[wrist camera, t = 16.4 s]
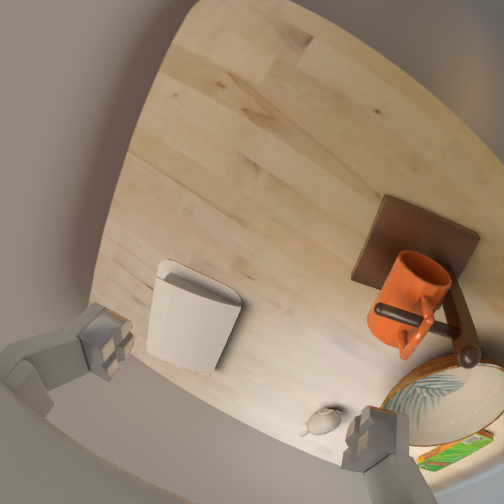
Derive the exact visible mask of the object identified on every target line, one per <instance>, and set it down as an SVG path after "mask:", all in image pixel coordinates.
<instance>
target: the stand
mask: <svg viewBox="0 0 504 504" xmlns="http://www.w3.org/2000/svg"><path fill="white" fill-rule="evenodd" d="M479 240H480V238H479V236H478V235H477V233H475V232H473V231H470V230H468V229H466V228H464V227H462V226H460V225H457V224H455V223H453V222H451V221H448V220H446V219H444V218H441V217H439V216H437V215H434V214H432V213H430V212H427V211H425V210H422V209H420V208H418V207H415V206H413V205H410V204H408V203H405V202H403V201H400V200H397V199H395V198H392V197H390V196H387V195H384V197H383V200H382V202H381V205H380V208H379V210H378V213H377V215H376V218H375V220H374V223H373V225H372V227H371V230H370V232H369V235H368V237H367V239H366V242H365V244H364V246H363V249H362V251H361V253H360V256H359V258H358V260H357V262H356V265H355V267H354V269H353V271H352V274H351V280H352V281H355V282H358V283H361V284H364V285H367V286H370V287H373V288H376V289H379V290H381V289H382V287H383V285H384V283H385V281H386V279H387V277H388V275H389V273H390V271H391V269H392V267H393V265H394V263H395V261H396V259H397V257H398V255H399V253H400V252H401V251H405V250H410V251H416V252H419V253H421V254H424V255H426V256H428V257H429V258H431V259H433V260H435V261H436V262H437V263H439V264H440V265H441V266H442V267H443V268H444V269H445V270H446V271H447V272H448V273H449V275H450V277H451V279H452V284H451V287H450V289H449V291H448V292H447V294H446V296H445V297H444V299H443V300H442V302H441V304H440V305H439V307H438V308H437V310H439V308H440V307H441V305H443V309H444V312H445V316H446V320H447V323H448V324H445V323H442V322H439V321H436V320H434V323H433V325H432V326H431V328H430V329H429V331H428V332H432V333H435V334H438V335H441V336H444V337H448V338H451V339H452V343H453V348H454V352H455V357H456V359H458V362H459V364H460V365H461V367H463V368H465V369H472V368H474V367H475V366H476V365H477V364H478V363H479V361H480V359H481V351H480V350H481V345H480V342H479V339H478V336H477V333H476V330H475V327H474V324H473V321H472V318H471V315H470V312H469V309H468V307H467V304H466V301H465V299H464V296H463V293H462V291H461V288H460V286H459V283H458V281H457V279H458V278H459V276H460V274H461V273H462V271H463V269H464V267H465V266H466V264H467V262H468V260H469V258H470V257H471V255H472V253H473V251H474V249H475V247H476V245H477V244H478V242H479ZM374 313H375V314H376V315H378V316H381V317H384V318H388V319H391V320H394V321H397V322H400V323H403V324H406V325H409V326H413V327H416V328H418V327H419V326H420V324H421V323H422V321H423V319H424V318H423V316H421V315H418V314H415V313H412V312H409V311H406V310H403V309H400V308H397V307H394V306H391V305H388V304H385V303H381V302H379V303H377V304H376V305H375V306H374Z"/></svg>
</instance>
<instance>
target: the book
mask: <svg viewBox="0 0 504 504" xmlns="http://www.w3.org/2000/svg"><path fill="white" fill-rule="evenodd" d="M241 308H242V300H241V298H240V297H239V295H238V294H237V292H235V291H234V290H232V289H231V288H229V287H228V286H226V285H223V284H221V283H219V282H217V281H215V280H213V279H211V278H209V277H207V276H205V275H203V274H200V273H198V272H196V271H194V270H192V269H190V268H188V267H186V266H184V265H182V264H180V263H178V262H175V261H172V260H164V261H161V262H160V264H159V265H158V269H157V275H156V279H155V285H154V292H153V298H152V305H151V312H150V320H149V327H148V335H147V343H146V352H147V353H149V354H150V355H152V356H154V357H156V358H158V359H160V360H163V361H165V362H167V363H170V364H172V365H175V366H177V367H180V368H182V369H186V370H189V371H192V372H196V373H200V374H205V375H212V373H213V371H214V369H215V367H216V364H217V362H218V360H219V358H220V355H221V353H222V351H223V349H224V346H225V344H226V342H227V340H228V337H229V335H230V333H231V331H232V328H233V326H234V324H235V322H236V319H237V317H238V315H239V312H240V310H241Z"/></svg>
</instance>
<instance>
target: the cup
mask: <svg viewBox="0 0 504 504" xmlns="http://www.w3.org/2000/svg"><path fill="white" fill-rule="evenodd" d="M451 284H452V279H451V277H450V275H449V273H448V272H447V271H446V270H445V269H444V268H443V267H442V266H441V265H440V264H439V263H437V262H436V261H435V260H433V259H431V258H429V257H428V256H426V255H424V254H421V253H419V252H416V251H410V250H405V251H401V252H400V253H399V255H398V257H397V259H396V261H395V263H394V265H393V267H392V269H391V271H390V273H389V275H388V277H387V279H386V281H385V283H384V285H383V287H382V289H381V291H380V293H379V294H378V296H377V298H376V300H375V302H374V304H373V306H372V308H371V309H370V311H369V314H368V316H367V323H368V326H369V328H370V330H371V331H372V333H373V334H374V335H375V336H376V337H377V338H378V339H379V340H381V341H382V342H383V343H385V344H387V345H389V346H392V347H395V348H399V350H400V358H401V359H402V360H407V359H408V358H409V357H410V356H411V354H412V353H413V352H414V350H415V349H416V347H417V346H418V345H419V343H420V342H421V341H422V339H423V338H424V336H425V335H426V333H427V332H428V331H429V329H430V328H431V326H432V325H433V323H434V320H435V319H434V313H435V312H436V310H437V308H438V307H439V305H440V304H441V302H442V300H443V299H444V297H445V296H446V294H447V292H448V291H449V289H450V287H451ZM379 302H381V303H385V304H388V305H391V306H394V307H397V308H400V309H403V310H406V311H409V312H412V313H415V314H418V315H421V316H423V318H424V319H423V321H422V323H421V324H420V326H419V327H418V328H416V327H413V326H409V325H406V324H403V323H400V322H397V321H394V320H391V319H388V318H384V317H381V316H378V315H376V314H375V313H374V306H375V305H376V304H377V303H379Z"/></svg>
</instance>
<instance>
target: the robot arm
mask: <svg viewBox="0 0 504 504" xmlns="http://www.w3.org/2000/svg"><path fill="white" fill-rule="evenodd" d="M132 328H133V327H132V321H131V320H129V319H127V318H125V317H123V316H121V315H119V314H117V313H115V312H113V311H111V310H109V309H107V308H106V307H104V306H102V305H100V304H98V303H96V302H95V303H93V304H91V305H90V306H89V307H88V308H87V309H86V310H85V311H84V312H83V313H82V314H81V315H80V316H79V317H78V318H77V319H76V320H75V321H74V322H73V323H72V324H71V325H70V326H69V327H68V328H67V329H66V330H64V329H59V330H55V331H52V332H49V333H45V334H42V335H38V336H35V337H32V338H28V339H25V340H22V341H18V342H15V343H11V344H9V345H8V346H7V347H6V348H5V349H4V350H3V351H2V352H1V353H0V504H199V503H197V502H194V501H191V500H189V499H186V498H184V497H181V496H179V495H177V494H174V493H172V492H170V491H167V490H165V489H163V488H161V487H158V486H157V485H154V484H152V483H150V482H148V481H146V480H144V479H142V478H140V477H138V476H136V475H134V474H132V473H130V472H128V471H126V470H125V469H123V468H121V467H119V466H117V465H116V464H114V463H112V462H110V461H109V460H107V459H105V458H103V457H102V456H100V455H99V454H97V453H95V452H94V451H92V450H90V449H89V448H87V447H86V446H84V445H83V444H81V443H80V442H78V441H76V440H75V439H74V438H72V437H71V436H69V435H68V434H66V433H64V432H63V431H62V430H61V429H59V428H57V427H56V426H55V425H54V424H52V423H51V422H50V421H48V420H47V419H46V418H45V417H46V415H47V414H48V412H49V411H50V410H51V409H52V407H53V406H54V402H53V400H52V398H51V397H50V395H49V393H48V391H50V390H52V389H54V388H57V387H59V386H61V385H63V384H65V383H68V382H70V381H72V380H74V379H76V378H79V377H81V376H83V375H85V374H87V373H89V371H90V372H92V373H94V374H96V375H98V376H99V377H101V378H103V379H105V380H107V381H110V379H111V378H112V377H113V376H114V374H115V373H116V372H117V370H118V369H119V364H118V362H121V361H124V360H126V358H127V357H128V356H129V354H130V352H131V350H132V348H133V343H134V337H133V335H132V333H131V332H130V330H131V329H132ZM345 441H346V443H347V445H348V448H347V449H346V450H345V451H344V453H343V459H342V466H341V469H346V470H351V471H355V472H360V473H363V477H364V480H365V483H366V486H367V488H368V491H369V494H370V497H371V500H372V502H373V504H438V503H437V502H436V500H435V498H434V496H433V494H432V492H431V490H430V488H429V486H428V485H427V483H426V481H425V479H424V477H423V475H422V474H421V472H420V470H419V468H418V466H417V464H416V463H415V461H414V459H413V457H410V456H409V417H408V415H407V414H404V413H399V412H394V411H391V410H387V409H382V408H377V407H373V406H366V407H365V408H364V409H363V410H362V413H361V415H360V416H357V417H355V418H354V419H353V421H352V422H351V424H350V426H349V428H348V431H347V434H346V440H345Z"/></svg>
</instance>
